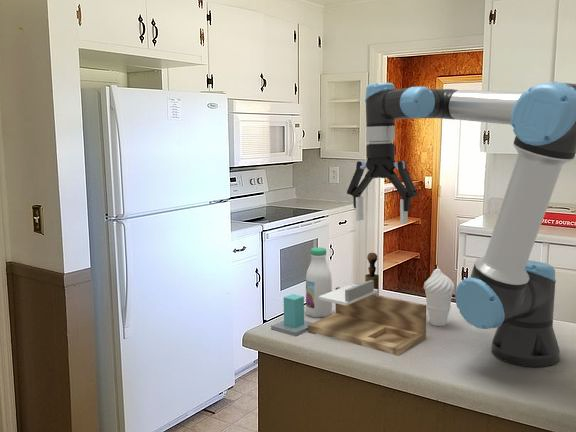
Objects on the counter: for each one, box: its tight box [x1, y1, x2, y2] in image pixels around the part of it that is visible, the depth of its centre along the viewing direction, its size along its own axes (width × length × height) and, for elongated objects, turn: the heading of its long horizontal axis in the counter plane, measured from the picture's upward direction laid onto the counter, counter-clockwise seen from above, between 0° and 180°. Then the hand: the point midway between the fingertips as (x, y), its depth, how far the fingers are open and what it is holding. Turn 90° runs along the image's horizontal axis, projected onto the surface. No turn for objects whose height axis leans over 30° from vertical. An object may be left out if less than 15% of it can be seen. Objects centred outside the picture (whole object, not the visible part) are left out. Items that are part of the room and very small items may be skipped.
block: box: [283, 293, 305, 328], centre depth 158 cm, size 4×4×8 cm
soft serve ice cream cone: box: [423, 268, 455, 327], centre depth 159 cm, size 8×8×16 cm
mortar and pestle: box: [364, 252, 380, 296], centre depth 171 cm, size 7×6×18 cm
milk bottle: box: [305, 247, 333, 318], centre depth 169 cm, size 8×8×20 cm
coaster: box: [270, 319, 313, 337], centre depth 159 cm, size 9×9×1 cm
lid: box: [318, 280, 378, 306], centre depth 155 cm, size 9×15×11 cm, turn 139°
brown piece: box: [307, 286, 427, 357], centre depth 151 cm, size 28×14×10 cm, turn 49°
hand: (381, 221), depth 155 cm, fingers open, 13 cm apart
